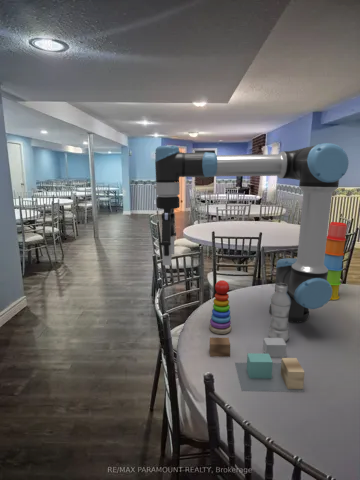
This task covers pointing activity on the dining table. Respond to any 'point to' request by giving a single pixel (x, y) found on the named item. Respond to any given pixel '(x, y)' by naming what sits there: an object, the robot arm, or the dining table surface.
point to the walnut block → (219, 347)
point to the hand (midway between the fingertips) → (168, 259)
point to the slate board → (263, 380)
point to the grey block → (274, 347)
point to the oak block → (292, 373)
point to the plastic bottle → (280, 312)
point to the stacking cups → (335, 255)
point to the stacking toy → (221, 309)
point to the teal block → (259, 365)
